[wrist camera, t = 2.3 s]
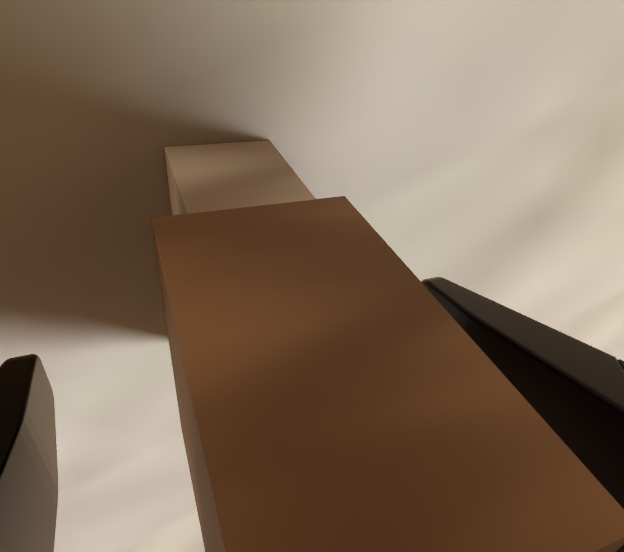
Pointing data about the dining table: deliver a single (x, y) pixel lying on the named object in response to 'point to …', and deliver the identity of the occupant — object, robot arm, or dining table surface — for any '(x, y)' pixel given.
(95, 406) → the dining table surface
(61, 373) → the dining table surface
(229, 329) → the brown wooden block
